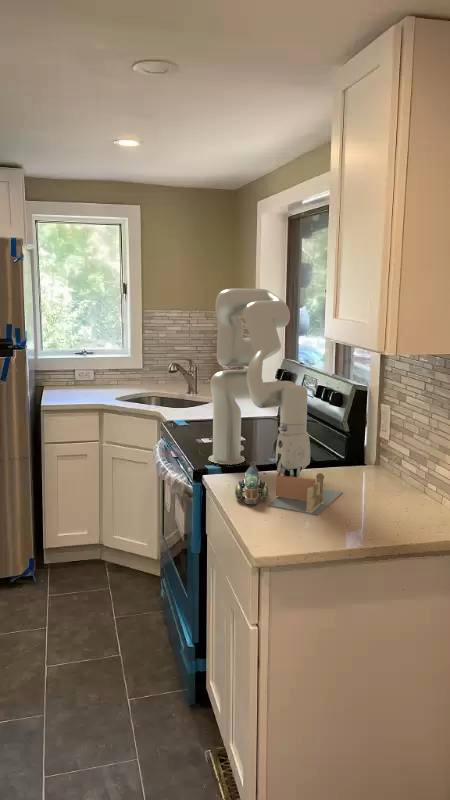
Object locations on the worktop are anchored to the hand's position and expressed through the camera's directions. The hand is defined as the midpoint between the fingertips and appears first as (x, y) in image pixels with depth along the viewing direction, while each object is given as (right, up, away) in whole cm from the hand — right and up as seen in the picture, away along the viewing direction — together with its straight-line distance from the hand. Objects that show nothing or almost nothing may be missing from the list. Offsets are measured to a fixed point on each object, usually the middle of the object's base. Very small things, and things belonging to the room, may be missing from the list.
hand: (291, 489), depth 187 cm
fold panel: (+1, -2, -3) cm, 4 cm away
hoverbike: (-11, -2, +3) cm, 12 cm away
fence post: (+5, -4, -9) cm, 11 cm away
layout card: (+4, -2, -2) cm, 5 cm away
